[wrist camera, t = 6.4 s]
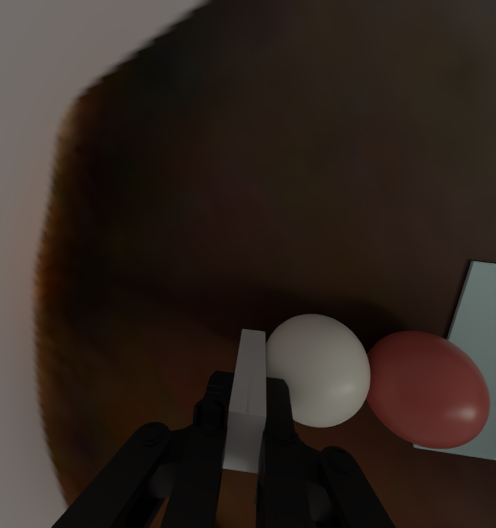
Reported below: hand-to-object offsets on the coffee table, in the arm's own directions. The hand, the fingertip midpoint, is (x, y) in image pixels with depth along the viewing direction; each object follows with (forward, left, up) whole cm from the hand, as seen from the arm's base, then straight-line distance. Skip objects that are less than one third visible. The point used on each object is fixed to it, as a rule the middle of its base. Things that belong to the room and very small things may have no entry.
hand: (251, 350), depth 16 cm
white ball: (-4, 0, +1) cm, 4 cm away
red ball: (-10, 0, +1) cm, 10 cm away
